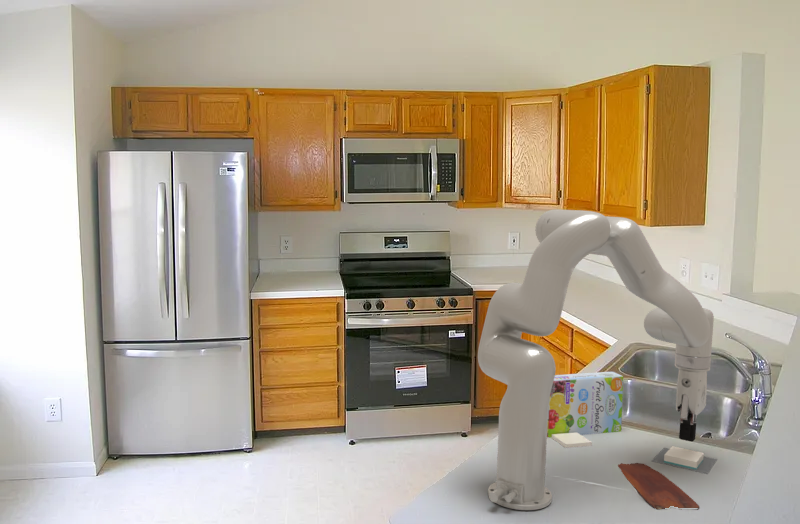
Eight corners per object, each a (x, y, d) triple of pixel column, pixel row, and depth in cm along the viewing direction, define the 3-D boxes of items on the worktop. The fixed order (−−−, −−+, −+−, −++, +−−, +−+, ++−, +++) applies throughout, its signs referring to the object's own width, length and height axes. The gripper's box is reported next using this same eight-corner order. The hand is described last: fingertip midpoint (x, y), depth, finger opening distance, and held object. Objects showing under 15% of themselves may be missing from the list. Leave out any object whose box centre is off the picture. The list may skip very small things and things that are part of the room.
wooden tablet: (703, 513, 139) (703, 505, 139) (653, 513, 138) (653, 504, 138) (647, 461, 166) (647, 454, 165) (605, 460, 165) (605, 453, 165)
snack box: (609, 426, 188) (612, 370, 186) (621, 433, 183) (625, 376, 181) (537, 432, 182) (539, 374, 180) (547, 439, 176) (550, 380, 175)
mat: (707, 475, 156) (707, 474, 156) (651, 462, 163) (651, 461, 163) (717, 460, 165) (717, 459, 165) (664, 449, 172) (664, 447, 172)
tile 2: (703, 460, 164) (696, 469, 158) (671, 453, 168) (663, 462, 162) (703, 452, 164) (696, 462, 158) (672, 446, 168) (664, 454, 162)
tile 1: (591, 449, 172) (591, 442, 172) (565, 451, 170) (566, 444, 170) (576, 439, 179) (576, 432, 178) (551, 441, 177) (551, 434, 176)
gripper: (702, 370, 154) (696, 452, 156) (716, 358, 166) (711, 434, 168) (667, 365, 158) (661, 444, 160) (683, 353, 171) (678, 427, 172)
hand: (687, 439), depth 164 cm, fingers closed
